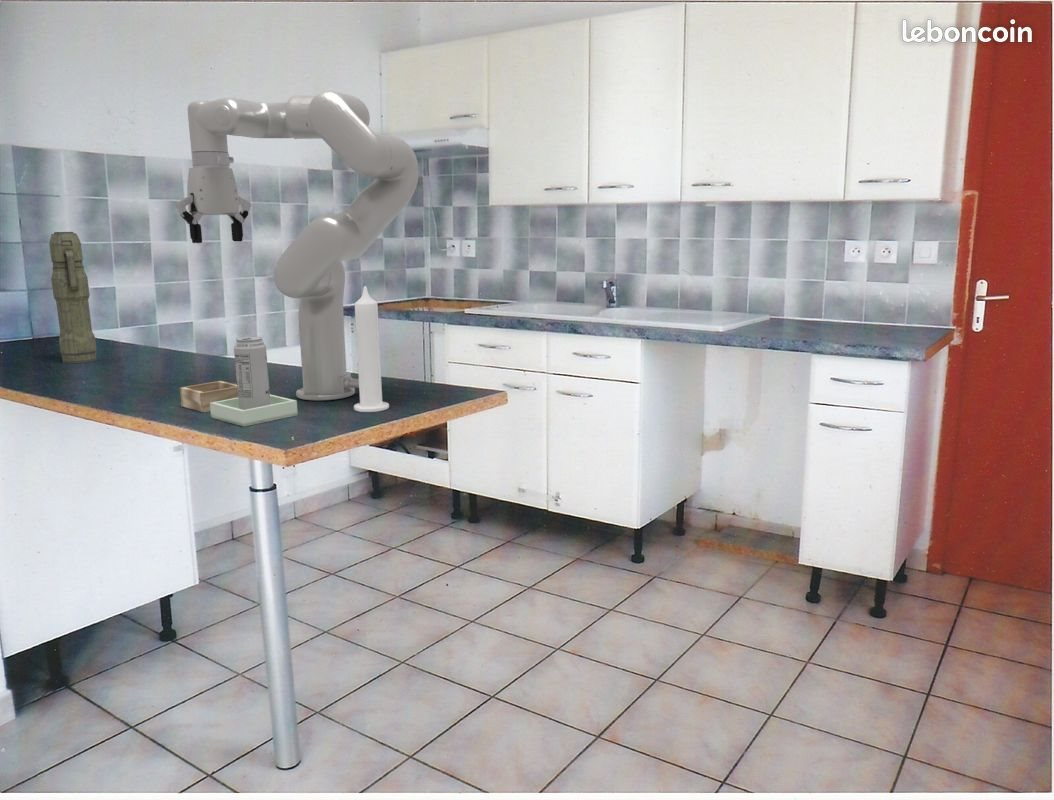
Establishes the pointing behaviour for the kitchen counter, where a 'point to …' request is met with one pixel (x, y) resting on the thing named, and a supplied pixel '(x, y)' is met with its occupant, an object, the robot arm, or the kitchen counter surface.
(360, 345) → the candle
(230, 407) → the tray
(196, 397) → the wooden square frame
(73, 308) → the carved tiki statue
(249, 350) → the energy drink can
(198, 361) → the kitchen counter surface
